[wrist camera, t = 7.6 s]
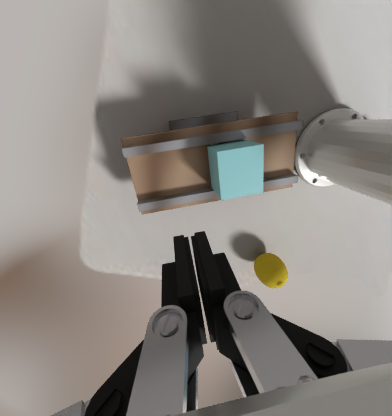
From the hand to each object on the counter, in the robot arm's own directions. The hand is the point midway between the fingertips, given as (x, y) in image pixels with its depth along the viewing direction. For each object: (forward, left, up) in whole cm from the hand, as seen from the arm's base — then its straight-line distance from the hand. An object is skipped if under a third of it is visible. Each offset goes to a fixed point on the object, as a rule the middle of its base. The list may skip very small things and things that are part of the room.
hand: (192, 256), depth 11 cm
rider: (-7, 0, -17) cm, 18 cm away
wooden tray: (-6, 0, -23) cm, 24 cm away
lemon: (-15, +22, -23) cm, 35 cm away
